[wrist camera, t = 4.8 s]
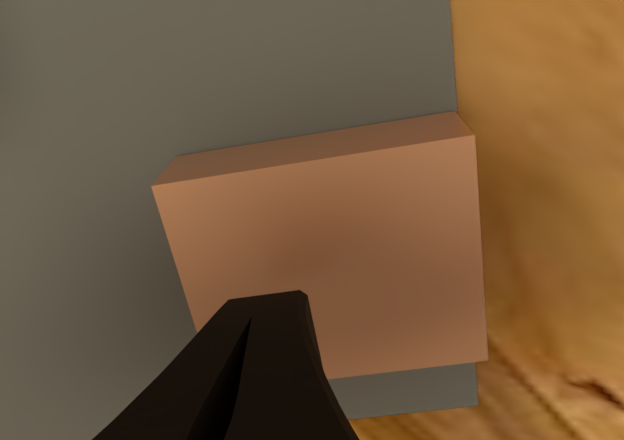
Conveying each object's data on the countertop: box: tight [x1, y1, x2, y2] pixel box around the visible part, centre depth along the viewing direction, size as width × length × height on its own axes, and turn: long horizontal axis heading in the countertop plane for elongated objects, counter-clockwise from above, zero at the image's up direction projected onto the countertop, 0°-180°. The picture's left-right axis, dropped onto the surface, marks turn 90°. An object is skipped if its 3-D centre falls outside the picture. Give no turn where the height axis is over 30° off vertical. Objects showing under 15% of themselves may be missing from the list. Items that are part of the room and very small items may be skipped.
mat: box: [0, 0, 479, 440], centre depth 13 cm, size 14×15×1 cm
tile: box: [151, 111, 489, 379], centre depth 12 cm, size 5×2×6 cm
